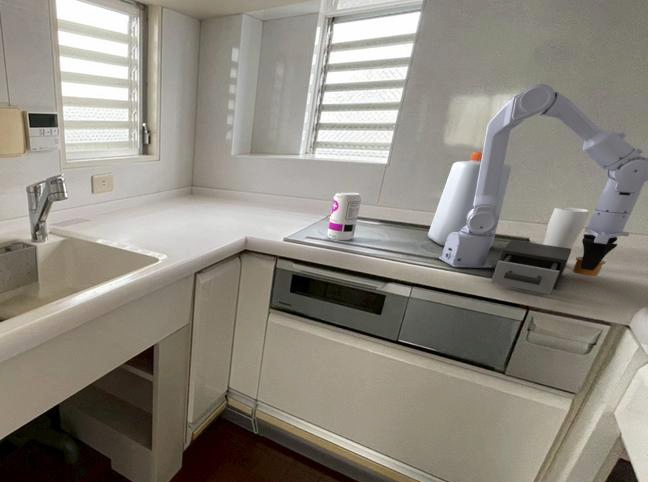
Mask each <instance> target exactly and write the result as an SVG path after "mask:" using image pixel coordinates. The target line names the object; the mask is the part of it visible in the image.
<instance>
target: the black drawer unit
mask: <svg viewBox="0 0 648 482" xmlns="http://www.w3.org/2000/svg"><path fill="white" fill-rule="evenodd" d="M571 253H572V249H570V248H563V247H556V246H549V245H543V243H542V244H541V243H535V242H528V241H521V240H515V239H511V240H510V241H509V242H508V243H507V245H506V246H505V247H504V248H503V249H502V250H501V254H500V257H499V259H498V261H504V260H505V258H506V257H507V256H508V255H509V254H511V255H517V256H524V257H530V258H536V259H542V260H548V261H554V262H559V263H558V265H557V268H556V270H557V271H560V272H559V274H558V277H557V279H556V282H555V284H554V286H553V289H554V290H556V289H557V287H558V285H559V282H560V280H561V277H562V275H563V273H564V270H565V268H566V266H567V264H568V261H569V258H570V255H571ZM553 289H552V290H553Z"/></svg>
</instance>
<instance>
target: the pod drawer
mask: <svg viewBox="0 0 648 482" xmlns="http://www.w3.org/2000/svg"><path fill="white" fill-rule="evenodd" d="M558 263H559V262H554V261H548V260H542V259H536V258H530V257H524V256H517V255H511V254H509V255H508V256H507V257H506V258H505V260H504V261H499V260H498V261H497V264H496V267H495V270H494V272H493V275H492V278H491V281H490V283H492V284H496V285H501V286H505V287H511V288H515V289H520V290H526V291H530V292H534V293H540V294H544V295H551V293H552V291H553V286H554V284H555V282H556V279H557V277H558V274H559V272H560V271H557V270H556V268H557V265H558Z"/></svg>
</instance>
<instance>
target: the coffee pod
mask: <svg viewBox="0 0 648 482" xmlns="http://www.w3.org/2000/svg"><path fill="white" fill-rule="evenodd" d="M582 259H583V256H576V257H575V260H576V262H575V264H574V266H573V267H572V272H573V273H575V274H578V275H581V276H588V277H597V276H599V273H600V271H601V269H602V267H603V265H605V264H606V261H605V260H603V259H602V260H601V262H600V263H599V264H598V266H597V267H596V268H595V269H594V270H593V271H592V270H586V269H581V264H582Z"/></svg>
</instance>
